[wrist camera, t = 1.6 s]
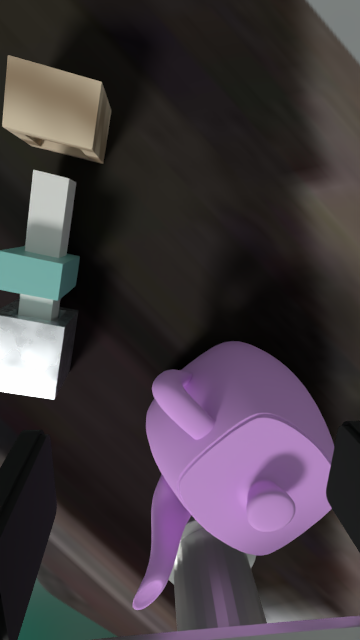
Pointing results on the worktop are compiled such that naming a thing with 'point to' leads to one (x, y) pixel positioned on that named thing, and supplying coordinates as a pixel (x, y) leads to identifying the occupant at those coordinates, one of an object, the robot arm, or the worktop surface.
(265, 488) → the teapot
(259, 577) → the worktop surface
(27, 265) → the plug
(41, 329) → the sleeve
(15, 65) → the socket
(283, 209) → the worktop surface
